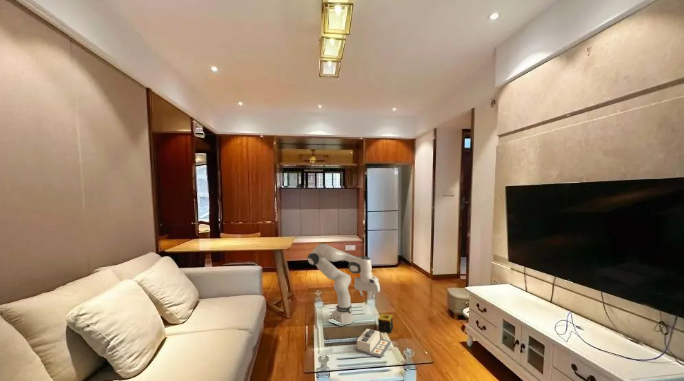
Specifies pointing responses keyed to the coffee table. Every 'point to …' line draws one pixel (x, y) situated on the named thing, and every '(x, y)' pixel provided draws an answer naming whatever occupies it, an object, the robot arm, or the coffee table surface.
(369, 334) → the switch
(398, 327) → the coffee table surface
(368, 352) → the switch unit
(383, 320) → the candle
